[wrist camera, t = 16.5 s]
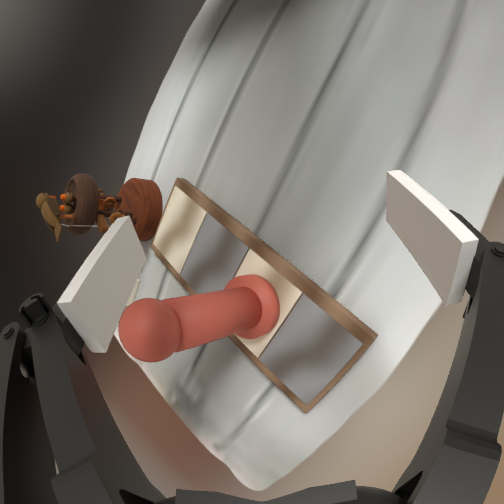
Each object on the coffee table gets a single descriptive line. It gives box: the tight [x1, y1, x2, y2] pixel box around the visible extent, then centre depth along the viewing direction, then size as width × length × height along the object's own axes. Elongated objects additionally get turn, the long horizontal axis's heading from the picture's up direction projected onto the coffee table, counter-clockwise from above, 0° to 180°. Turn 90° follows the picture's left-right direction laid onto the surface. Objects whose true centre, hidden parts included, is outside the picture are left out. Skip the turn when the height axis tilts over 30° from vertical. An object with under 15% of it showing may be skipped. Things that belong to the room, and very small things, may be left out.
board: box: [150, 178, 378, 413], centre depth 36 cm, size 33×12×2 cm, turn 55°
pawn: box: [119, 274, 280, 362], centre depth 27 cm, size 7×7×16 cm
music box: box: [36, 174, 162, 242], centre depth 42 cm, size 15×11×20 cm
